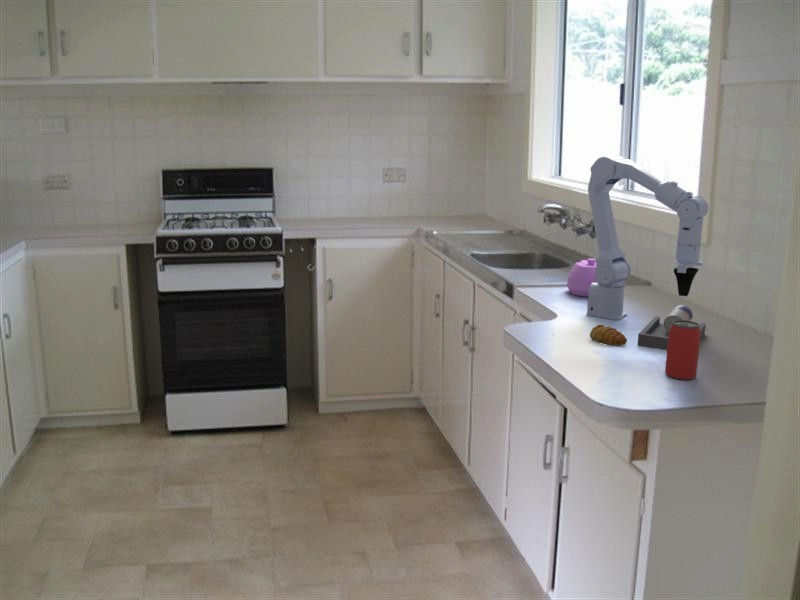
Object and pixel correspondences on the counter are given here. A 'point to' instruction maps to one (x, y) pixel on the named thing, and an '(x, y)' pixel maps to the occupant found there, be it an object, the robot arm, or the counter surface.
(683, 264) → the robot arm
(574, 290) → the teapot
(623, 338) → the pastry
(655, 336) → the tray
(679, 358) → the beer can
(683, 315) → the energy drink
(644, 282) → the counter surface
